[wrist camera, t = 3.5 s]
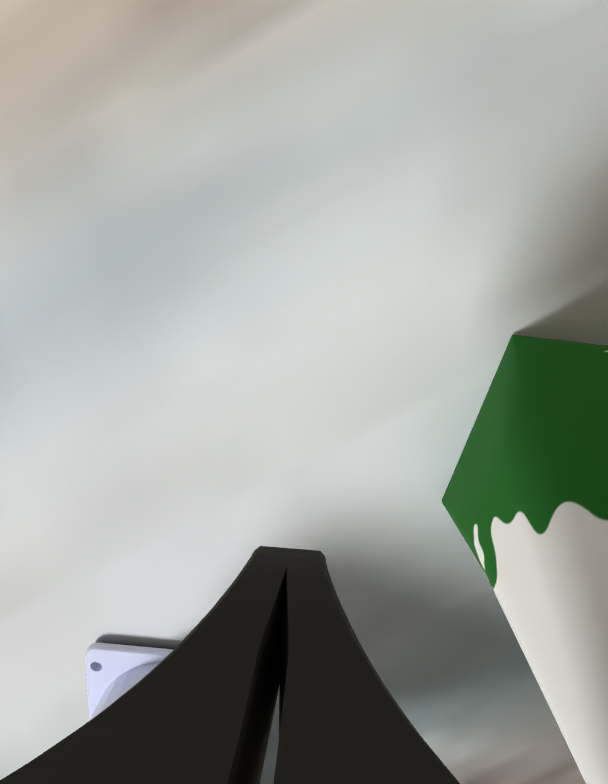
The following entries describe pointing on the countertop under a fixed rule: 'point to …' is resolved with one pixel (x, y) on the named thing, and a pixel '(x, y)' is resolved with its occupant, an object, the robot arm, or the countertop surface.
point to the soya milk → (547, 525)
